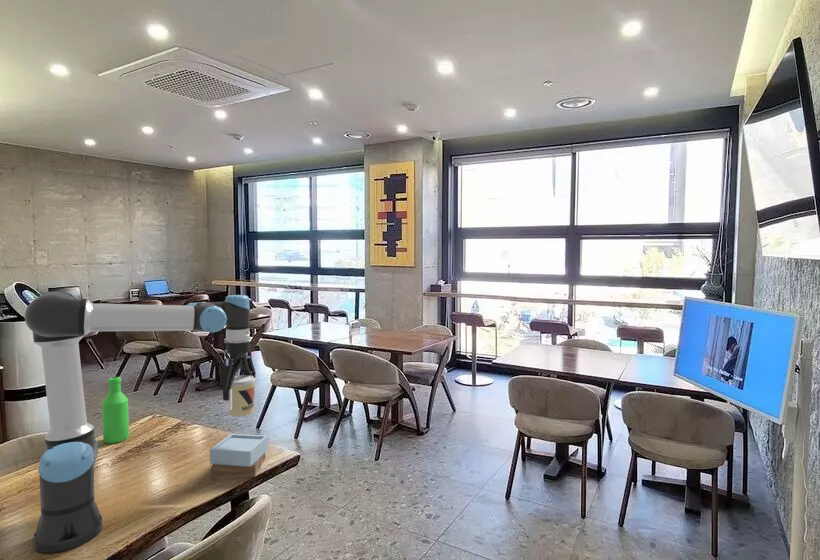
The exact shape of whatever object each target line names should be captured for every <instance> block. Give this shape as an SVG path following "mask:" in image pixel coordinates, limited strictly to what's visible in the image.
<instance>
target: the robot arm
mask: <svg viewBox="0 0 820 560" xmlns="http://www.w3.org/2000/svg"><path fill="white" fill-rule="evenodd" d="M250 310H251V307H250V298H249V296H248V295H244V294H232V295H230V294H229V295H227V296H226V297H225V300H224V301H215V302H214V301H212V302H209V301H207V302H204V301H203V302H200V301H199V302H198V301H197V302H190V303H188V304H186V305H183V304H182V305H181V304H180V305H179V304H177V305H176V304H138V303H137V304H135V303H133V304H129V303H126V304H124V303H92V302H91V301H90V300H89V299H80V298H78V297H77V296H75V295H74V294H72V293H69V292H67V291H63V290H60V291H59V290H58V291H55V290H54V291H48V292H46V293H43V294H41V295H39V296H38V297H36V298H35V299H32V300H31V302H29V304H28V305H27V307H26V308H25V312H24V322H25V324H26V326H27V327H28V328H29V330H30V331H31V332H32V338H33V339H32V340H33V343H34V344H36V345H37V346H38V347H40V349H41V356H42V364H43V365H42V366H43V375H44V382H45V383H44V384H45V391H46V392H45V394H46V400H47V409H48V418H49V428H50V430H49V431H48V432H47V433H46V434H45V436H44V442H45V444H44V445H45V451H44V453H43V454H42V455H41V456H40V459H39V464H38V473H39V495H40V496H39V497H40V516H39V519H38V523H37V527H36V529H35V530H36V531H35V532H34V534H33V538H32V542H33V543H32V545H33V549H34V550H35V551H37V552H39V553H44V554H45V553H46V554H48V553H49V554H52V553H60V552H64V551H69V550H72V549H75V548H78V547H80V546H82V545H84V544H87V543H88V542H90V541H92V540H94V538H96V537H97V536H98V535H99V534H100V533H101V531H102V530H103V528H104V522H103V521H104V519H103V516H102V515H101V513H100V510H99V507H98V506H97V503H96V500H95V468H96V460H97V457H98V452H99V446H98V442H97V440H96V435H95V434H96V433H95V426H94V425H93V423H92V424H91V423H89V422H88V421H87V420H88V419H87V410H86V400H85V393H84V383H83V373H82V364H81V356H80V355H81V354H80V344H79V342H80V341H81V340H82V338H84V337H85V336H87V335H88V334H89V333H91V332H171V331H174V332H175V331H176V332H178V331H180V332H183V331H184V332H185V331H188V332H189V331H194V332H201V331H202V332H208V333H217V332H220V331H221V330H223V329H224V328H225V340H226V343H225V352H226V354H229V358H224V359H223V368H222V371H221V375H220V379H219V385H218V390H219V391H222V410H223V411H224V410H225V411H229V410H232V390H230V389H231V386H232V383H233V380H234V377H235V376H237V372H239V370H241V373H242V375H250V376H253V377H254V379H255V380H256V373H257V372H256V369H255V366H254V362H253V359H252V351H250V350H251V341H249V340H250V337H251V336H250V334H251V331H250V313H251V311H250Z"/></svg>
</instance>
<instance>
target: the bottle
mask: <svg viewBox="0 0 820 560" xmlns="http://www.w3.org/2000/svg"><path fill="white" fill-rule="evenodd" d="M121 382H122V378H121V377H120V376H113V377H110V378H108V381H107V384H108V390H109V391H108V393H107V395H106V397H105V398H104V400H103V401H102V403H101V406H102V407H101V409H102V411H101V412H102V414H101V415H102V416H101V417H102V441H103V442H104V443H105V444H117V443H116V442H118V443H120V441H121V442H123V440H124V441H125V439H126V440H127V439H128V438H130V424H129V423H130V422H129V420H130V419H129V398H128V397H127V396H126V395H125V394H124V393H123V392H122V390H121V389H122V388H121V387H122V385H121Z"/></svg>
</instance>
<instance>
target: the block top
mask: <svg viewBox="0 0 820 560" xmlns="http://www.w3.org/2000/svg"><path fill="white" fill-rule="evenodd" d="M268 450H269V435H267V434H266V435H265V434H263V435H262V434H261V435H260V434H244V433H230V434H229V435H227V436H226V437H224V438H222V440H221V441H218V442H217V443H216V444H215V445H214V446H213V447H211V448H210V449H209V460H210V461H209V462H210V463H209V464H210V465H213V464H216V465H233V466H249V467H251V466H252V465H253V464H254V463H255V462H256V461H257V460H258V459H259V458H260V457H261V456H262V455H263V454H264V453H265V454H266V452H267V451H268Z"/></svg>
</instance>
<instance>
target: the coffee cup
mask: <svg viewBox="0 0 820 560" xmlns="http://www.w3.org/2000/svg"><path fill="white" fill-rule="evenodd" d="M255 383H256V378H255V379H254V377H253V376H250V375H244V374H241V375H235V377H234V380H233V383H232V386H231V389H230V390H232V410H228V412H229V415H230V416H231V417H234V418H235V417H237V418H239V417H240V418H241V417H246V416H250V415H251V414H253V413H254V408H255V406H254V405H255V404H254V403H255Z"/></svg>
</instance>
